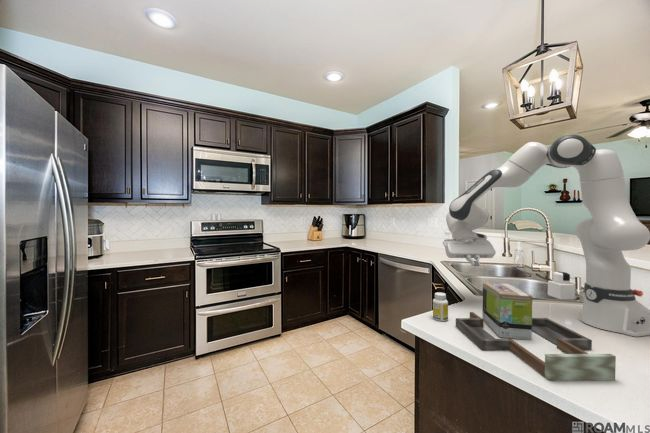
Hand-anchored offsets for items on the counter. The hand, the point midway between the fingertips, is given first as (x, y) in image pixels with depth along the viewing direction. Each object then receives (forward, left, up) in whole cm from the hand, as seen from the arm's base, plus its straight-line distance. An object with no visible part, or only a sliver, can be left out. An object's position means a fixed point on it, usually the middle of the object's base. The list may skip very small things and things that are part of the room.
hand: (476, 265), depth 111 cm
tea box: (0, +18, -19) cm, 26 cm away
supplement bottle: (+19, +9, -19) cm, 28 cm away
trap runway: (0, +29, -19) cm, 35 cm away
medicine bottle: (-49, -15, -19) cm, 55 cm away
